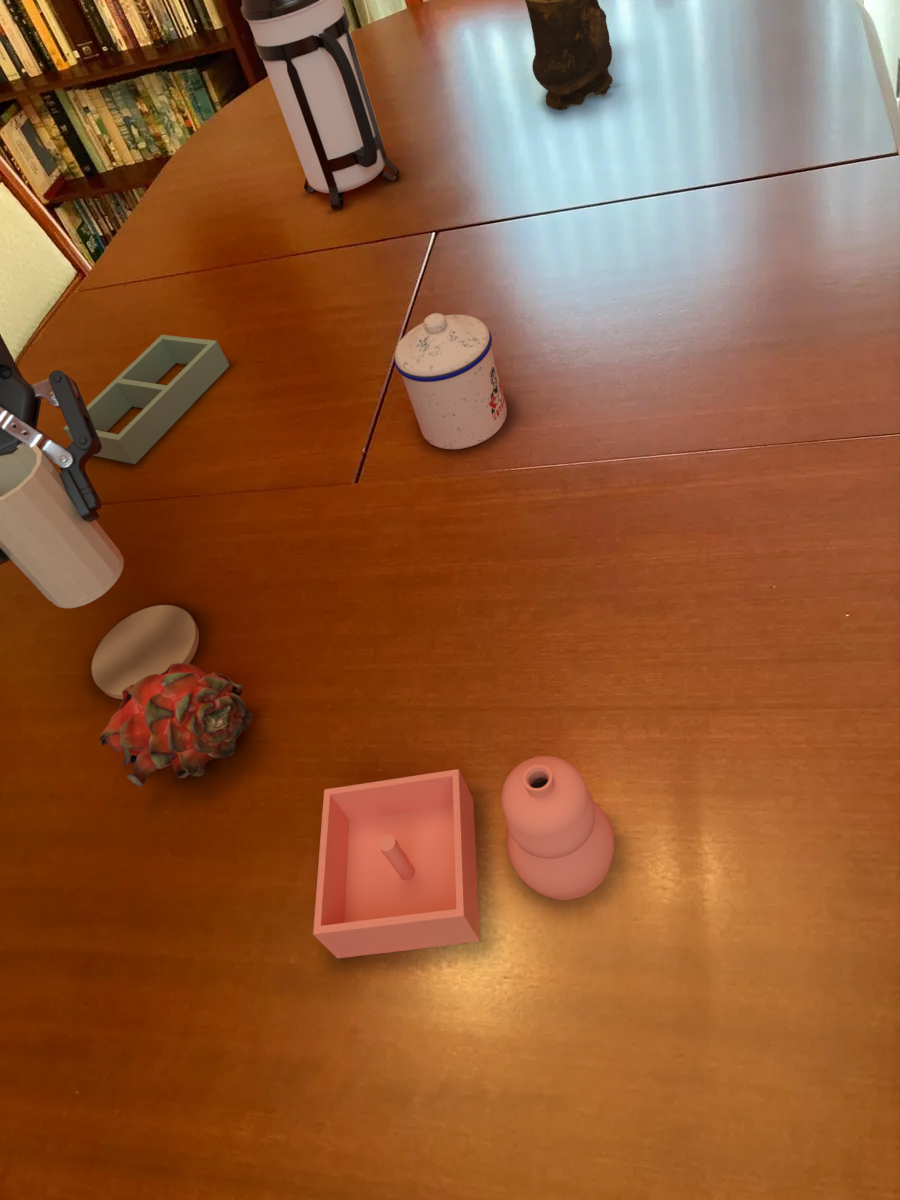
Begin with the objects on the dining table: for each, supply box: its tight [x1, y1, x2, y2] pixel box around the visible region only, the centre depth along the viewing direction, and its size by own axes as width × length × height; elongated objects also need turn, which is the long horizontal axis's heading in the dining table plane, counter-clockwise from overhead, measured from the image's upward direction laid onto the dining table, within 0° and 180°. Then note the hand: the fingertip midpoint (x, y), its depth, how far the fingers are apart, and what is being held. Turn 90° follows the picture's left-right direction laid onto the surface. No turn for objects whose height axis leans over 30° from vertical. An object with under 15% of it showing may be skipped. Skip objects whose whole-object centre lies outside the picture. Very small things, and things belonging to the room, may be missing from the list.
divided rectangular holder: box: [62, 334, 231, 465], centre depth 101 cm, size 9×18×4 cm, turn 151°
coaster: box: [91, 604, 200, 700], centre depth 76 cm, size 10×10×1 cm
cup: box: [0, 443, 125, 609], centre depth 65 cm, size 6×6×11 cm
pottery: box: [312, 755, 616, 959], centre depth 53 cm, size 18×10×10 cm, turn 91°
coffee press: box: [240, 0, 400, 211], centre depth 117 cm, size 17×16×30 cm
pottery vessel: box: [524, 0, 613, 111], centre depth 123 cm, size 25×11×20 cm, turn 172°
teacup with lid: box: [394, 312, 508, 450], centre depth 83 cm, size 12×9×12 cm
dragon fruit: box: [98, 663, 254, 788], centre depth 66 cm, size 8×8×12 cm
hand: (46, 540), depth 64 cm, fingers closed on cup, 6 cm apart
